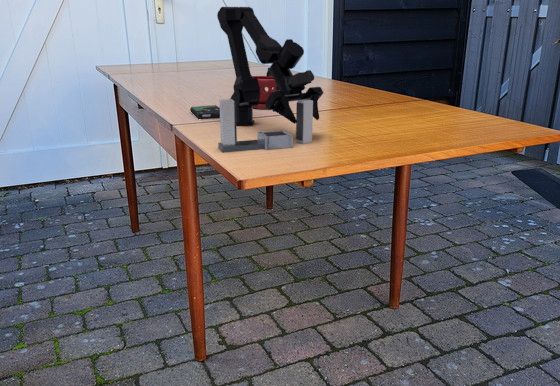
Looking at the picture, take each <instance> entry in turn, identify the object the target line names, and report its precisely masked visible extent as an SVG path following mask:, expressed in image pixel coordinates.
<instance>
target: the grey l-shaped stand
mask: <svg viewBox="0 0 560 386" xmlns="http://www.w3.org/2000/svg"><path fill="white" fill-rule="evenodd" d="M219 108H220V118H219V127H220V128H219V129H220V131H219V132H220V142H218V143H217V147H218V150H220V151H221V152H222V153H230V152H231V153H232V152H242V151H253V150H266V151H268V150H276V149H277V150H279V149H288V148H289V149H291V148H294V147H293V146H294V142H293V141H294V137H293V136H294V135H293V134H291V133H289V132H287V131H286V130H284V129H280V130H269V131H267V130H266V131H257V134H256V136H257V137H256V139H251V140H250V139H247V140H237V139H238V136H237V135H238V132H237V130H238V129H237V125H236V102H235V101H234V100H232V99H230V98H228V99H227V98H226V99H225V98H224V99H219Z"/></svg>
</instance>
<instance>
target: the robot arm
mask: <svg viewBox="0 0 560 386" xmlns="http://www.w3.org/2000/svg"><path fill="white" fill-rule="evenodd" d="M216 16H217V21H218V23H219V27H220V28H221V30H222V31H223V33H225V35H226V37H227V40H228V44H229V49H230V50H229V51H230V55H231V59H232V64H233V69H234V73H235V80H234V83H233V93H232V95H231V96H230V98H229V99H232V100H234V101H235V102H236V126H254V123H255V120H254V117H253V114H254V113H253V109H254V108H253V106H255V105H256V106H257V105H258V103H259V98H260V87H259V82H258V79H257V78H253V77H252V76H253V75H252V74H251V71H250V65H249V61H248V55H247V51H246V45H245V42H244V37H243V29H245V31H246V32H247V34H248V36H249V37H250V39H251V40H252V41H253V43H254V45H255V54H256V56H257V59H258V60H259V62H260V63H261V64H262V65H269V64H271V65H270V66H269V67H267V72H266V75H265V76H267V77H270V76H272V77H273V79H274V81H275V83H276V84H277V87H276V90H277V91H274V92H271V94H270V95H269V97H268V98H267V100H266V101H265V106H266V107H267V109H266V110H267V111H272V112H274V113H277V114H279V115H280V116H282V117H284V118H285V119H286V120H288V121H289V122H291V123H292V124H296V122H297V121H296V116H295V114H294V112H293V110H292V108H291V106H290V102H291V103H292V102H298V100H304V99H308V100H312V101H313V118H314V119H315V120H316V121H319V119H320V114H319V113H320V112H319V105H318V104H319V103H318V101H319V99H320V98H321V97H322V96H323V94H324V93H325V92H324V90H323V89H322V87H321V86H311V87H309V88H308V89H307V90H306V91H305V92H303V91H304V90H305V89H306V86H307V85H308V84H312V82H313V81H314V80H315V75H314V73H313V72H312V71H311V69H309V70H305V71H302V72H298V73H295V74H293V72H292V71H291V70H292V69H294V68H295V67H296V66H297V65H298V63H299V61H300V60H301V59H302V57H303V55H304V54H305V51H304V48H303V47H302V46H301V45H300V44H299V43H298V42H295V41H293V39H292V38H291V39H290V38H288V39H285V41H284V43H283V45H281V44H280V42H278V40H276V39H274V38H272V37H271V36H269V35H268V33H267V31H266V29H265V28H264V27H263V25H262V24H261V22H260V21H259V19H258V17H257V16H256V15H255V11H254V9H253V8H252V7H250V6H222V7H220V8H219V10H218V12H217V15H216Z"/></svg>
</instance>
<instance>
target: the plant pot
mask: <svg viewBox="0 0 560 386" xmlns="http://www.w3.org/2000/svg"><path fill="white" fill-rule="evenodd" d="M252 77H253V78H257V79H258V82H259V87H260V98H259V103H258V105H257V106H256V105H255V106H253V109H257V110H259V109H260V110H264V109H265V110H268V109H267V107H266V106H265V101H266V100H267V98H268V97H269V95H270V94H271V92H274V91H277V90H276V87H277V84H276V83H275V81H274V79H273V77H272V76H270V77H267V76H266V75H252ZM266 88H267V89H268V90H266Z"/></svg>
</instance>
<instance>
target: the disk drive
mask: <svg viewBox="0 0 560 386" xmlns="http://www.w3.org/2000/svg"><path fill="white" fill-rule="evenodd" d="M189 110H190V111H191V112H192V113H193V114H194V115H195V116H196V117H197V118H198V119H197V118H196V117H195V116H194V115H193V114H192V113H191V112H190V113H191V114H192V115H193V116H194V117H195V118H196V119H197V120H199V119H201V120H211V119H212V120H213V119H220V106H218V105H216V104H215V105H201V106H191V107H190V108H189Z"/></svg>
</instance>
